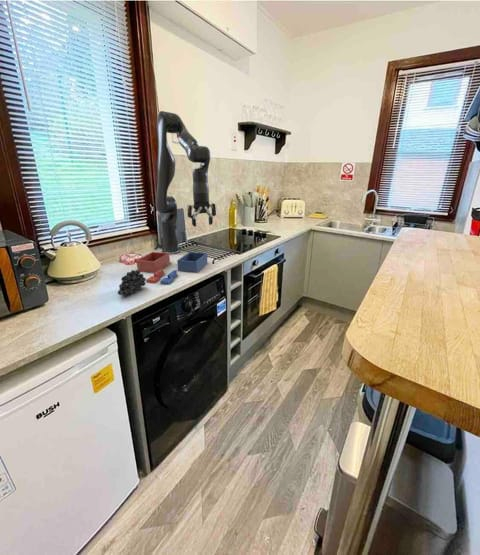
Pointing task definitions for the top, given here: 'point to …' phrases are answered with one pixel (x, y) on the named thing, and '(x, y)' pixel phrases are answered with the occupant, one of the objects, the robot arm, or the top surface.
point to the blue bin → (192, 262)
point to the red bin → (153, 262)
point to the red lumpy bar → (156, 276)
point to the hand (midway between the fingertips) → (202, 225)
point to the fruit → (131, 282)
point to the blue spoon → (169, 277)
